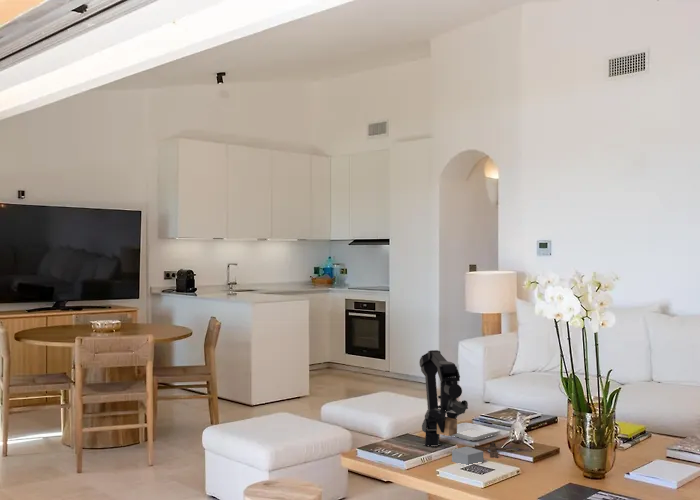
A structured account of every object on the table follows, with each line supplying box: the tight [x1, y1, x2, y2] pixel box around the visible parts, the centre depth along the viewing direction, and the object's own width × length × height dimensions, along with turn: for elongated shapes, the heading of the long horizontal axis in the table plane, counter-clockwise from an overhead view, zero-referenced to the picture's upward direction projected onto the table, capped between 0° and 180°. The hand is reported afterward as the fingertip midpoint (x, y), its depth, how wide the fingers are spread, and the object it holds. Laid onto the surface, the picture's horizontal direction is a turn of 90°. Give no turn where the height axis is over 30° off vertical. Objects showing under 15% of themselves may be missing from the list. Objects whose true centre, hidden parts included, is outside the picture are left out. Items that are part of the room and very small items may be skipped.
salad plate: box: [450, 422, 502, 442], centre depth 333 cm, size 21×21×3 cm
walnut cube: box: [437, 418, 458, 437], centre depth 296 cm, size 6×6×6 cm
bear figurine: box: [471, 441, 512, 459], centre depth 304 cm, size 18×4×14 cm
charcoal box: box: [451, 445, 484, 465], centre depth 291 cm, size 9×9×5 cm
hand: (446, 431), depth 296 cm, fingers closed on walnut cube, 6 cm apart
